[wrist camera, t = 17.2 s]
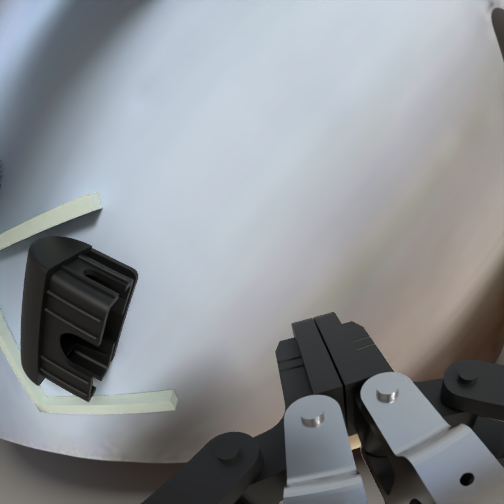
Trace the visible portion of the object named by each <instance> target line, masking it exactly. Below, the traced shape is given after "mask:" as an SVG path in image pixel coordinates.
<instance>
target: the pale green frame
mask: <svg viewBox="0 0 504 504" xmlns="http://www.w3.org/2000/svg"><path fill="white" fill-rule="evenodd" d="M101 208H102V204H101V200H100V197H99V193H98V192H96V193H90V194H87V195H84V196H82V197H79V198H77V199H75V200H72V201H70V202H67V203H65V204H63V205H60V206H58V207H56V208H54V209H51V210H49V211H47V212H45V213H42V214H40V215H38V216H36V217H34V218H32V219H30V220H28V221H25V222H23V223H21V224H19V225H17V226H15V227H13V228H11V229H9V230H7V231H5V232H4V233H2V234H0V250H2V249H4V248H6V247H9V246H11V245H13V244H15V243H17V242H19V241H22V240H24V239H26V238H28V237H31V236H33V235H35V234H38V233H40V232H42V231H45V230H47V229H50V228H52V227H54V226H57V225H59V224H62V223H64V222H67V221H69V220H72V219H75V218H77V217H80V216H82V215H85V214H88V213H90V212H93V211H96V210H99V209H101ZM0 347H1V349H2V351H3V353H4V354H5V356H6V358H7V360H8V362H9V364H10V365H11V367H12V369H13V371H14V372H15V374H16V376H17V377H18V379H19V381H20V382H21V384H22V385H23V387H24V389H25V390H26V392H27V393H28V395H29V396H30V398H31V399H32V401H33V402H34V404H35V405H36V407H37V408H38V409H39V411H40V412H48V413H64V414H132V413H149V412H162V411H173V410H176V405H177V401H178V398H177V396H176V394H175V392H174V390H165V391H156V392H146V393H135V394H121V395H104V396H92V398H91V400H90V401H89V402H87V401H85V400H83V399H81V398H79V397H77V396H46V394H45V393H44V391H43V390H42V388H41V386H40V385H39V386H37V385H36V384H34V383H33V382H32V381H31V380H30V379H29V378H28V377H27V375H26V374H25V372H24V370H23V367H22V365H21V352H20V350H19V348H18V346H17V344H16V342H15V340H14V338H13V336H12V334H11V332H10V330H9V328H8V326H7V323H6V321H5V319H4V317H3V314H2V312H1V310H0Z"/></svg>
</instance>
